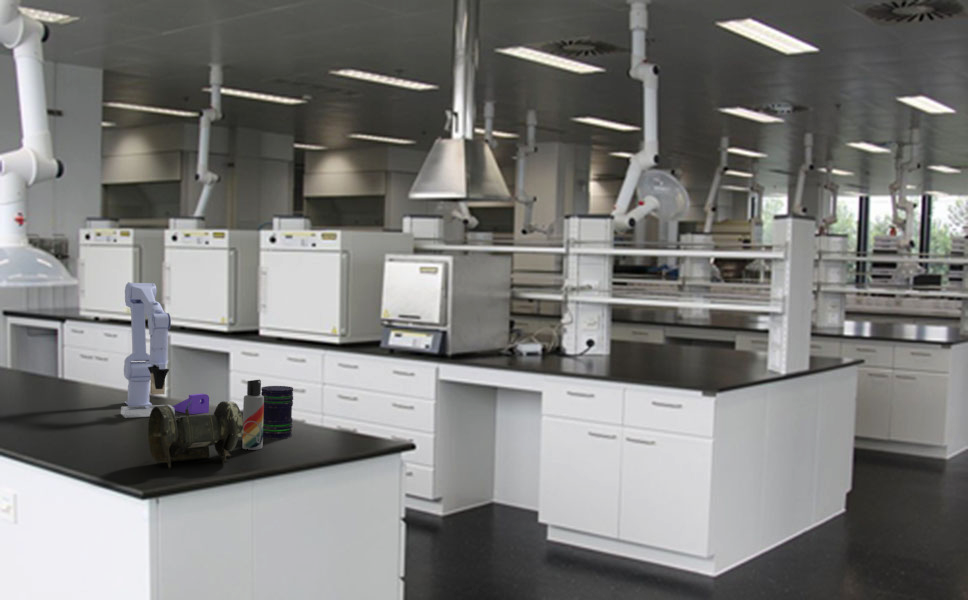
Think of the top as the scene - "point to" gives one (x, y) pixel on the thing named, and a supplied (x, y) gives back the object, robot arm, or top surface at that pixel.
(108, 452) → the top surface
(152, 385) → the peg
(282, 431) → the storage jar
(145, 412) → the grey rectangular frame
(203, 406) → the bracket
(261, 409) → the lotion bottle
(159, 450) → the bench grinder
